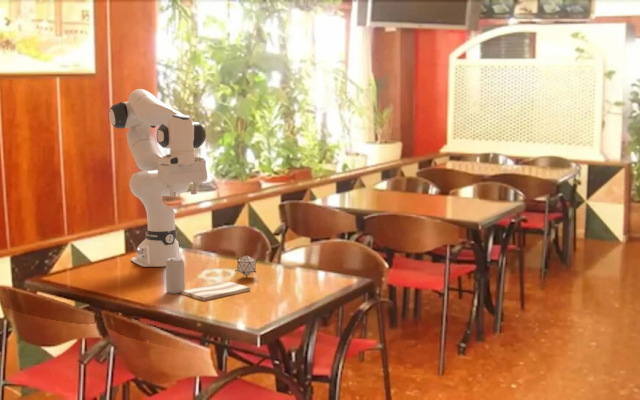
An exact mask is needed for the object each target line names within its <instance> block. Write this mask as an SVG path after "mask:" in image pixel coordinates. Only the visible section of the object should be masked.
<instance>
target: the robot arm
mask: <svg viewBox="0 0 640 400" xmlns="http://www.w3.org/2000/svg"><path fill="white" fill-rule="evenodd" d="M108 111H109V113H108V114H109V121H110V123H111V126H113V127H114V128H115V129H121V130H122V129H128V130H127V132H126V141H127V144H128V148H129V150H130V153H131V156H132V157H133V160H134V161H135V164H136V166H137V167H138V169H139V170H141V171H137V172H134V173H133V174H132V175H131V176H130V179H129V185H128V186H129V189H130V192H131V193H132V195H134V197H136V198H138V199H139V200H140V201H141V203H142V204H143V206H144V208H145V211H146V219H147V230H146V231H145V239H144V240H142V241H141V243H140V244H138V246H137V248H136V256H134V257H131V258H130V261H131V262H133V263H135V264H136V265H139V266H141V267H144V268H146V267H148V268H149V267H160V268H161V267H166V262H167V259H169V258H182V257H181V253H180V245H179V241H178V240H177V237H178V236H177V233H178V232H177V229H176V215H175V214H176V212H175V210H174V208H172V207H171V206H169V205H167V204H165V203H164V201H163V197H165V196H167V197H168V196H169V197H170V198H174V197H176V196H177V195H180V194H183V193H186V192H187V191H188V190H189V188H190V184H192V185H193V187H192V189H190V194H191V195H198V188H199V186H200V183H203V182H207V179H208V171H207V166H206V161H207V160H205V158H203V157H200V156H199V157H195V149H199V148H200V147H201V146H202V145H203V144H204V142H205V141H206V138H207V137H206V136H207V133H206V129H205V128H204V126H203V125H202V124H201V123H200V122H198V121H193V119H192V116H190V115H189V114H183V113H182V112H181V111H179V110H177V109H175V108H173V107H171V106H170V105H167V104H165V103H164V102H162V101H161V100H159V99H158V98H157V97H156V96H155V95H154V94H153V93H151V92H149V91H148V90H145V89H143V88H138V89H135V90H133V91H131V93H130V94H129V96H128V101H123V102H122V101H121V102H117V103H114V104H113V105H111V107H110V108H109V110H108ZM156 127H157V129H156V141H157V142H156V141H155V138H154V136H153V134H152V132H151V128H152V129H155V128H156ZM157 143H158V144H159V146H161V148H164V149H170V150H169V153H168V154H166V155H163V153H162V152H161V150H160V148H159V146H158V144H157Z"/></svg>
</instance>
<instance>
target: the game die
mask: <svg viewBox="0 0 640 400" xmlns="http://www.w3.org/2000/svg"><path fill="white" fill-rule="evenodd" d="M236 260H237V261H236V262H237V267H236V269H235V271H234V272H238V273H240V274H242V275H243V276H245V278H246V279H247V278H248V276H249V275H251V274H253V273H257V271H256V270H257V269H256V265H257V262H258V260H259V259H255V258H253V257H252V256H250V255H248V253H247V252H245V255H244V256H242V257H240V258H238V257H237V258H236Z"/></svg>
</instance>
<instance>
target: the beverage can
mask: <svg viewBox="0 0 640 400" xmlns="http://www.w3.org/2000/svg"><path fill="white" fill-rule="evenodd" d="M165 281H166V282H165V286H166V287H165V288H166V292H167V293H169V294H172V295H177V294H182V291H183V290H186V285H185V284H186V283H185V261H184V258H183V257H181V258H169V259H167V262H166V266H165Z"/></svg>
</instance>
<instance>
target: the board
mask: <svg viewBox="0 0 640 400" xmlns="http://www.w3.org/2000/svg"><path fill="white" fill-rule="evenodd" d="M249 291H251V287H250V286H248V285H247V286H246V285H242V284H239V283H235V282H231V281H229V280H227V281H223V282H217V283H212V284H207V285H204V286H198V287H193V288H188V289H185V290H183V291H182V293H181V294H182V295H184V296H187V297H190V298H193V299H197V300H200V301H202V302H205V301H212V300H214V299H218V298H223V297H229V296H232V295H233V296H234V295H236V294H241V293H246V292H249Z"/></svg>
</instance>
